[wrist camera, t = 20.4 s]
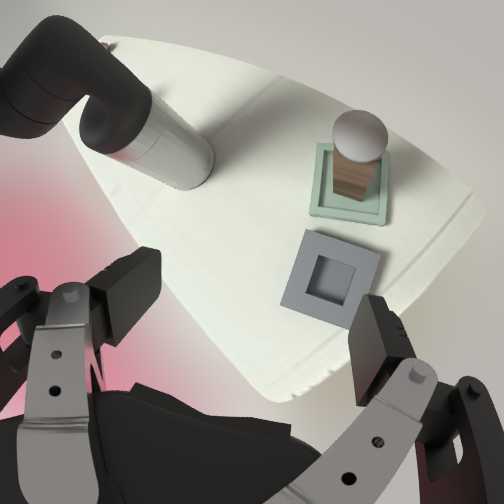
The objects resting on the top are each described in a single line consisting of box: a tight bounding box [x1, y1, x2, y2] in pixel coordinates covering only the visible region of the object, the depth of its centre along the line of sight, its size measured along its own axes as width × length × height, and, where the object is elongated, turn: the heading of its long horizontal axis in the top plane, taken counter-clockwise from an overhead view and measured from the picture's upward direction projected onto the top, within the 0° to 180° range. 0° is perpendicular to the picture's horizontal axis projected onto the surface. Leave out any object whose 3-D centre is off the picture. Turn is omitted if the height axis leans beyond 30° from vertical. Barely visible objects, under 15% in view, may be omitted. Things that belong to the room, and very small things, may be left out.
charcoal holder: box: [280, 229, 381, 330], centre depth 35 cm, size 10×10×3 cm
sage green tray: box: [309, 143, 389, 226], centre depth 35 cm, size 10×10×2 cm
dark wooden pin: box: [333, 110, 388, 202], centre depth 28 cm, size 5×5×15 cm
